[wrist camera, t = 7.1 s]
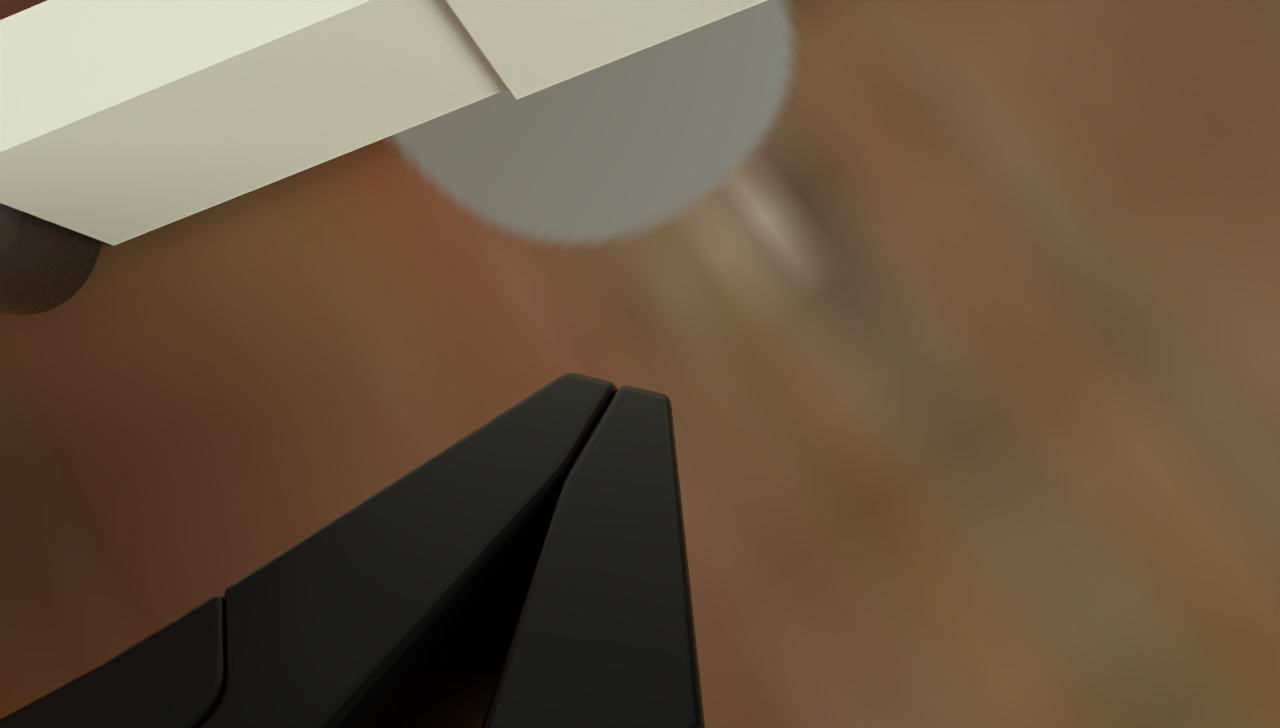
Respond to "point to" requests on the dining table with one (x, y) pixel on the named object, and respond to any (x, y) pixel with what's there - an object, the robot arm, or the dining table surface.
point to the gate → (267, 88)
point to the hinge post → (40, 262)
